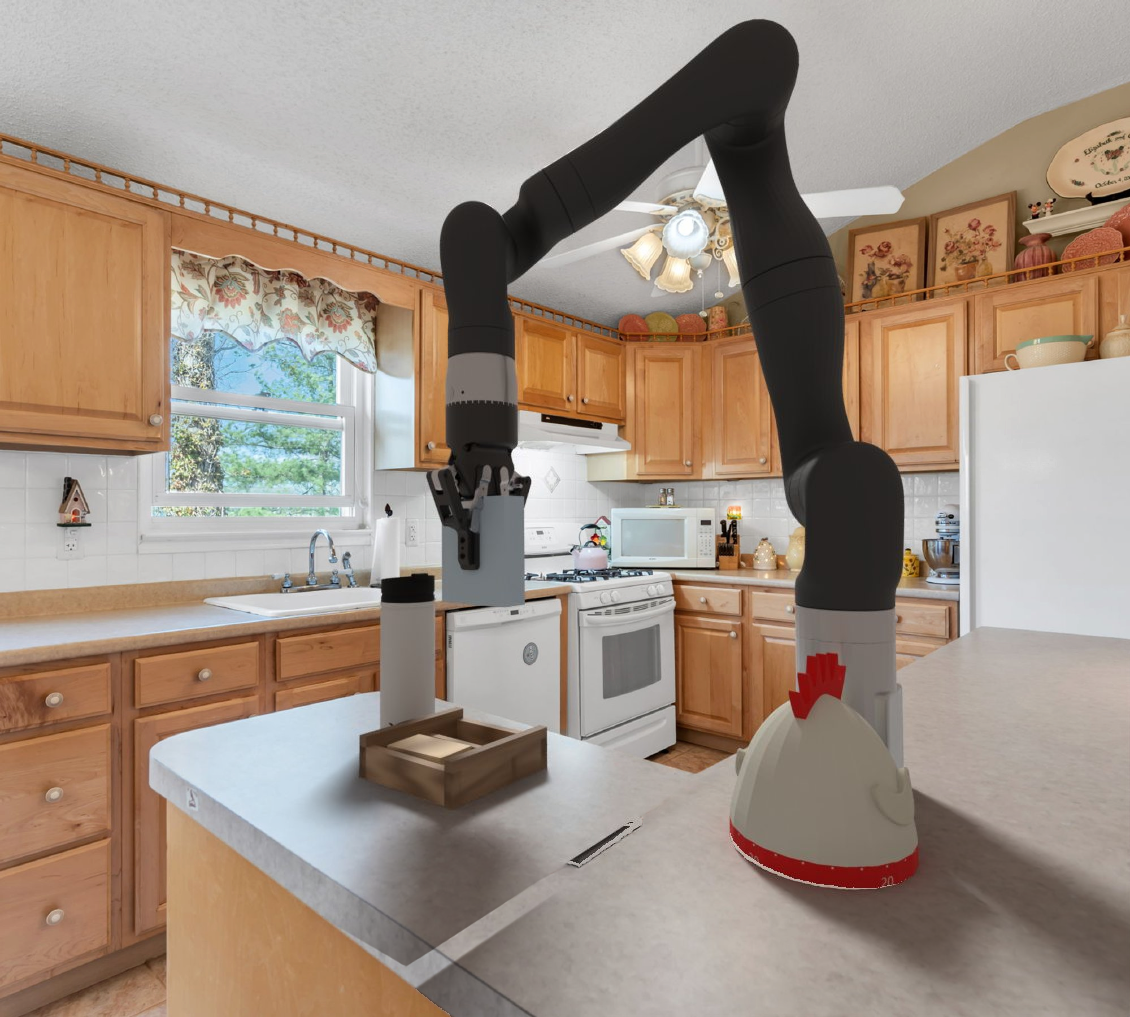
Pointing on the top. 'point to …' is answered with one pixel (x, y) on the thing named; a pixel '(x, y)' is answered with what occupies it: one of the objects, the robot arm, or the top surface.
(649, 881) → the top surface
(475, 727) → the rack
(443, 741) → the offcut upper
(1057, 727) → the top surface
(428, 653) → the travel mug
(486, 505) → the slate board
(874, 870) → the kitchen timer
